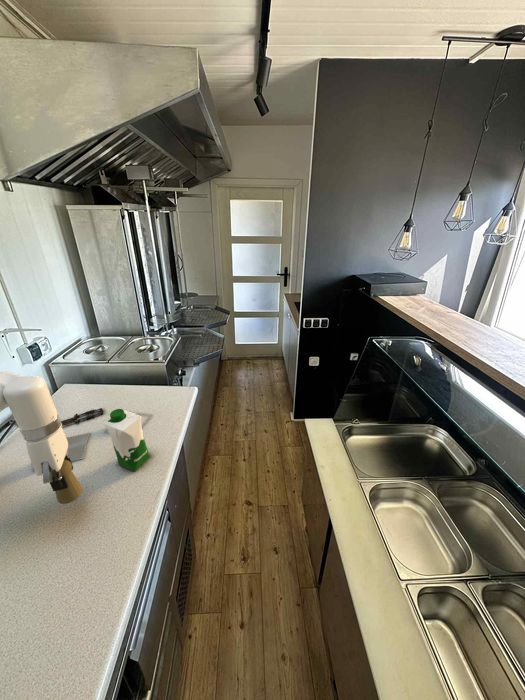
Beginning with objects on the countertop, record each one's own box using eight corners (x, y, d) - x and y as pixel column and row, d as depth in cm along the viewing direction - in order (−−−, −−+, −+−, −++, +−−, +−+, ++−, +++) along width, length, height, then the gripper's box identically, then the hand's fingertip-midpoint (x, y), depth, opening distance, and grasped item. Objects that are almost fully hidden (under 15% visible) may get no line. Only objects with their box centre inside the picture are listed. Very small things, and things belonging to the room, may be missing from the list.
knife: (29, 439, 107) (28, 436, 107) (32, 428, 113) (31, 425, 112) (104, 417, 118) (103, 414, 118) (103, 409, 123) (102, 406, 123)
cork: (52, 496, 77) (39, 467, 72) (76, 480, 82) (64, 452, 77) (63, 508, 74) (50, 478, 69) (87, 491, 79) (76, 462, 74)
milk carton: (135, 448, 102) (122, 403, 94) (154, 456, 99) (143, 410, 90) (114, 466, 95) (99, 419, 86) (134, 475, 92) (120, 427, 83)
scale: (31, 473, 93) (28, 468, 92) (44, 444, 105) (42, 439, 104) (82, 461, 97) (80, 456, 96) (89, 434, 109) (87, 429, 108)
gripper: (34, 407, 74) (56, 459, 82) (6, 456, 59) (36, 512, 67) (68, 402, 76) (86, 452, 84) (49, 447, 61) (73, 503, 69)
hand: (63, 478), depth 75 cm, fingers closed on cork, 5 cm apart
